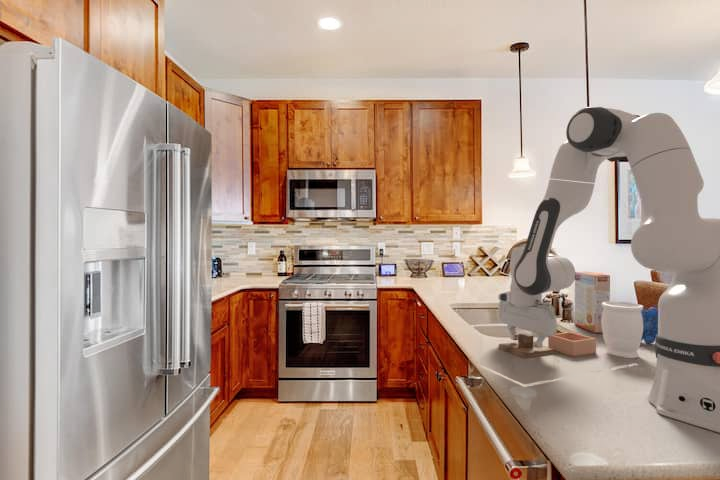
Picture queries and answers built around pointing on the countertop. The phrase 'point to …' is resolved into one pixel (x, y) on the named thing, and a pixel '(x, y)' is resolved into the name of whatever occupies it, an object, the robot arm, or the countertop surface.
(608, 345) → the jar
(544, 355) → the mat
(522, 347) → the lid
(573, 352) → the dish
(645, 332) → the grapes
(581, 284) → the cracker box
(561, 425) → the countertop surface
